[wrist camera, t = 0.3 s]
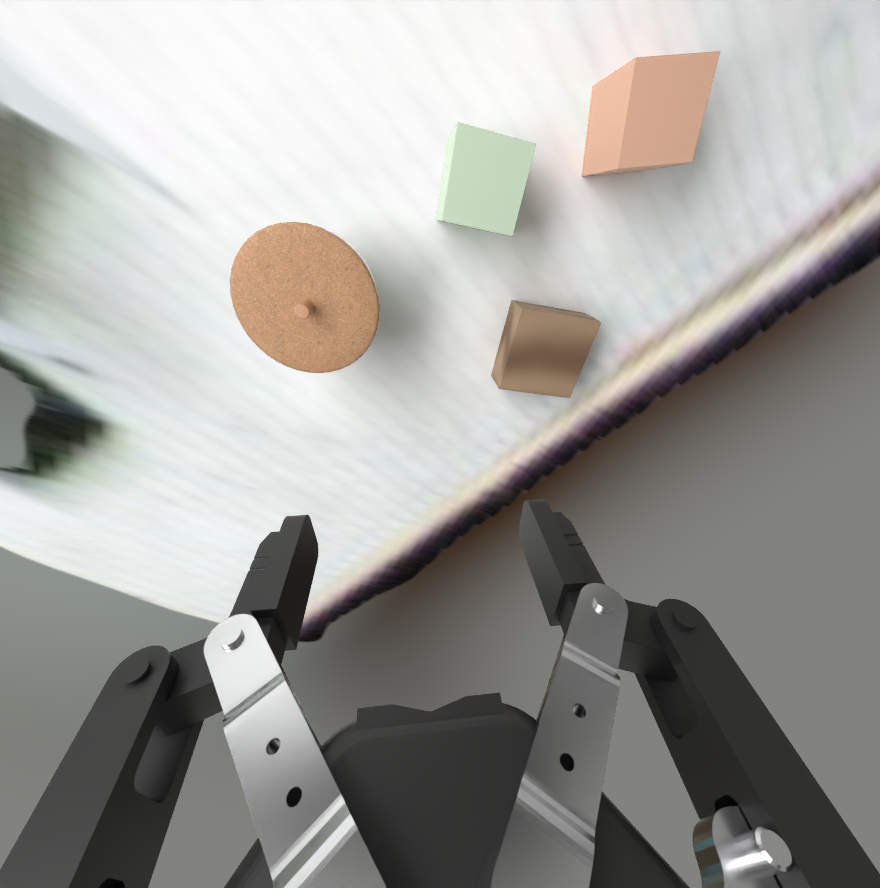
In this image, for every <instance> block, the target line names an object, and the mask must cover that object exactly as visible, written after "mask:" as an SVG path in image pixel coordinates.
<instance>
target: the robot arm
mask: <svg viewBox="0 0 880 888" xmlns="http://www.w3.org/2000/svg"><path fill="white" fill-rule="evenodd" d="M519 536H520V542H521V545H522V548H523V551H524V554H525V557H526V560H527V562H528V565H529V568H530V571H531V573H532V576H533V579H534V582H535V585H536V587H537V590H538V593H539V596H540V598H541V601H542V604H543V607H544V610H545V613H546V615H547V618H548V621H549V624H550V626H556V625H561V627H562V630H563V633H564V637H563V639H562V642H561V645H560V649H559V652H558V655H557V658H556V661H555V664H554V667H553V670H552V673H551V677H550V679H549V683H548V686H547V689H546V692H545V694H544V697H543V700H542V703H541V706H540V709H539V712H538V715H537V718H536V720H535V719H534V718H533V717H531V716H530V715H528V714H527V713H525V712H524V711H522V710H520V709H518V708H516V707H513V706H511V705H508V704H504V703H502V702H501V697H500V693H493V694H483V695H474V696H466V697H463V698H461V699H459V700H457V701H454V702H452V703H450V704H447V705H445V706H443V707H441V708H438V709H436V710H434V711H430V712H429V711H423V710H418V709H413V708H408V707H403V706H398V705H384V706H375V707H366V708H358V710H357V720H355V721H352V722H350V723H349V724H347V725H345V726H344V727H342V728H341V729H339V730H338V731H337V732H335V733H334V734H333V735H332V736H331V737H330V738H329V739H328V740H327V741H326V742H325V743H324V744H323V745H321V743H320V741H319V739H318V737H317V735H316V733H315V731H314V729H313V727H312V726H311V724H310V722H309V720H308V718H307V716H306V714H305V712H304V710H303V708H302V706H301V704H300V702H299V700H298V698H297V696H296V694H295V692H294V690H293V688H292V686H291V684H290V682H289V680H288V678H287V676H286V674H285V672H284V670H283V668H282V666H281V663H282V659H283V655H284V651H285V650H296V647H297V644H298V640H299V635H300V631H301V627H302V623H303V618H304V614H305V610H306V606H307V602H308V597H309V593H310V589H311V585H312V580H313V576H314V572H315V568H316V563H317V559H318V543H317V539H316V536H315V533H314V529H313V526H312V523H311V519H310V517H309V515H300V516H287V517H285V519H284V521H283V524H282V526H281V529H280V532H271V533H270V534H269V535H268V536H267V537H266V538H265V539H264V540H263V541H262V543H261V544H260V545H259V548H258V550H257V552H256V555H255V557H254V560H253V562H252V564H251V567H250V571H248V574H247V576H246V579H245V581H244V583H243V586H242V588H241V591H240V593H239V595H238V598H237V600H236V603H235V605H234V607H233V610H232V612H231V614H230V616H229V618H227V619H225V620H224V621H222V622H221V623H220V624H218V625H217V626H216V627H215V628H214V629H213V630H212V631H211V633H210V634H209V636H208V637H207V638H205V639H203V640H201V641H198V642H196V643H193V644H190V645H188V646H185V647H183V648H180V649H178V650H175V651H172V652H169V651H168V650H167V649H166V648H164V647H162V646H149V647H146V648H143V649H141V650H139V651H137V652H135V653H133V654H132V655H130V656H129V657H127V658H126V659H125V660H124V661H122V662H121V663H120V664H119V665H118V667H116V669H115V670H114V671H113V672H112V674H111V675H110V677H109V678H108V680H107V682H106V684H105V686H104V687H103V689H102V691H101V693H100V694H99V696H98V698H97V700H96V702H95V703H94V705H93V707H92V709H91V710H90V712H89V714H88V716H87V717H86V719H85V721H84V723H83V725H82V726H81V728H80V730H79V732H78V733H77V735H76V737H75V739H74V740H73V742H72V744H71V746H70V747H69V749H68V751H67V753H66V755H65V756H64V758H63V760H62V762H61V763H60V765H59V767H58V769H57V770H56V772H55V774H54V776H53V778H52V779H51V781H50V783H49V785H48V786H47V788H46V790H45V792H44V793H43V795H42V797H41V799H40V801H39V802H38V804H37V806H36V808H35V809H34V811H33V813H32V815H31V816H30V819H29V820H28V822H27V824H26V825H25V827H24V829H23V831H22V832H21V834H20V836H19V838H18V840H17V841H16V843H15V845H14V847H13V848H12V850H11V852H10V854H9V855H8V857H7V859H6V861H5V862H4V864H3V866H2V868H1V870H0V888H148V886H149V883H150V880H151V877H152V874H153V871H154V868H155V865H156V862H157V859H158V856H159V853H160V850H161V847H162V844H163V841H164V838H165V835H166V832H167V829H168V826H169V823H170V820H171V817H172V814H173V811H174V808H175V805H176V802H177V799H178V796H179V793H180V790H181V787H182V784H183V781H184V778H185V775H186V772H187V769H188V766H189V763H190V760H191V757H192V754H193V751H194V748H195V745H196V742H197V739H198V736H199V733H200V730H201V727H202V724H203V721H204V719H205V718H208V717H210V716H212V715H214V714H216V713H218V712H221V711H223V712H224V716H225V719H224V720H223V728H224V732H225V735H226V738H227V741H228V744H229V748H230V751H231V754H232V757H233V760H234V763H235V766H236V769H237V772H238V775H239V778H240V781H241V784H242V787H243V790H244V793H245V797H246V800H247V803H248V805H249V809H250V812H251V815H252V818H253V821H254V824H255V827H256V830H257V833H258V836H259V837H258V839H257V840H256V842H255V843H254V845H253V846H252V848H251V849H250V850H249V852H248V854H247V855H246V856H245V858H244V859H243V861H242V862H241V864H240V865H239V866H238V868H237V869H236V871H235V872H234V874H233V875H232V877H231V878H230V880H229V881H228V883H227V884H226V886H225V887H224V888H689V886H688V885H687V884H686V883H685V882H684V881H683V880H682V878H681V877H680V876H679V875H678V874H677V873H676V872H675V871H674V870H673V869H672V868H671V867H670V865H669V864H668V863H667V862H666V861H665V860H664V859H663V858H662V857H661V856H660V854H659V853H658V852H657V851H656V850H655V849H654V848H653V847H652V846H651V845H650V843H649V842H648V841H647V840H646V839H645V838H644V837H643V836H642V835H641V834H640V832H639V831H637V829H636V828H635V827H634V826H633V825H632V824H631V823H630V821H629V820H628V819H627V818H626V817H625V816H624V815H623V814H622V813H621V812H620V811H619V810H618V808H617V807H616V806H615V805H614V804H613V803H612V802H611V801H610V800H609V799H608V798H607V797H606V795H605V794H604V793H603V792H602V787H603V781H604V775H605V770H606V764H607V758H608V752H609V746H610V741H611V735H612V728H613V723H614V717H615V712H616V706H617V700H618V694H619V688H620V677H619V676H618V669H622V670H626V671H630V672H633V673H635V675H636V677H637V680H638V682H639V684H640V686H641V689H642V691H643V693H644V695H645V698H646V700H647V702H648V704H649V707H650V709H651V711H652V713H653V716H654V718H655V720H656V722H657V724H658V727H659V729H660V731H661V733H662V736H663V738H664V740H665V742H666V745H667V747H668V749H669V751H670V754H671V756H672V758H673V760H674V762H675V765H676V767H677V769H678V771H679V773H680V776H681V778H682V780H683V783H684V785H685V787H686V789H687V792H688V793H689V796H690V798H691V800H692V803H693V805H694V807H695V810H696V812H697V814H698V816H699V818H700V820H699V821H698V822H697V823H696V825H695V827H694V830H693V837H692V842H693V849H694V854H695V857H696V860H697V863H698V866H699V870H700V874H701V881H702V888H880V874H879V872H878V871H877V869H876V868H875V867H874V865H873V864H872V862H871V861H870V859H869V858H868V856H867V855H866V853H865V852H864V850H863V849H862V847H861V846H860V844H859V843H858V841H857V840H856V838H855V837H854V836H853V834H852V833H851V831H850V830H849V828H848V827H847V825H846V824H845V822H844V821H843V819H842V818H841V816H840V815H839V814H838V812H837V811H836V809H835V808H834V806H833V805H832V803H831V802H830V800H829V799H828V797H827V796H826V795H825V793H824V791H823V790H822V789H821V787H820V786H819V784H818V783H817V781H816V780H815V778H814V777H813V775H812V774H811V773H810V771H809V769H808V768H807V766H806V765H805V763H804V762H803V761H802V759H801V758H800V756H799V755H798V753H797V752H796V750H795V749H794V747H793V746H792V744H791V743H790V742H789V740H788V739H787V737H786V736H785V734H784V733H783V731H782V730H781V728H780V727H779V725H778V724H777V723H776V721H775V719H774V718H773V717H772V715H771V714H770V712H769V711H768V709H767V708H766V706H765V705H764V703H763V702H762V700H761V699H760V697H759V696H758V694H757V693H756V692H755V690H754V689H753V687H752V686H751V684H750V683H749V681H748V680H747V679H746V677H745V675H744V674H743V672H742V671H741V669H740V668H739V666H738V665H737V663H736V662H735V661H734V659H733V658H732V656H731V655H730V653H729V652H728V650H727V649H726V647H725V646H724V644H723V643H722V641H721V640H720V638H719V637H718V636H717V634H716V633H715V631H714V630H713V628H712V627H711V625H710V624H709V622H708V621H707V619H706V618H705V617H704V616H703V615H702V614H701V613H700V612H699V611H698V610H697V609H696V608H694V607H693V606H691V605H689V604H688V603H686V602H683V601H680V600H676V599H666V600H663V601H662V602H660V603H659V605H658V606H657V607H654V606H649V605H644V604H640V603H635V602H631V601H628V600H625V599H623V597H622V596H621V595H620V594H619V593H618V592H617V591H615V590H614V589H613V588H611V587H609V586H607V585H606V584H605V583H604V581H603V580H602V578H601V576H600V574H599V572H598V571H597V569H596V567H595V565H594V563H593V561H592V559H591V558H590V556H589V554H588V552H587V551H586V548H585V547H584V546H583V543H582V541H581V539H580V537H579V536H578V535H577V532H576V530H575V528H574V526H573V525H572V523H571V521H569V520H568V519H567V518H566V517H565V516H564V515H563V514H562V513H561V512H556V513H553V512H552V511H551V509H550V506H549V504H548V503H547V501H546V500H544V499H542V500H528V501H525V502H524V505H523V510H522V516H521V521H520V527H519Z"/></svg>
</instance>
